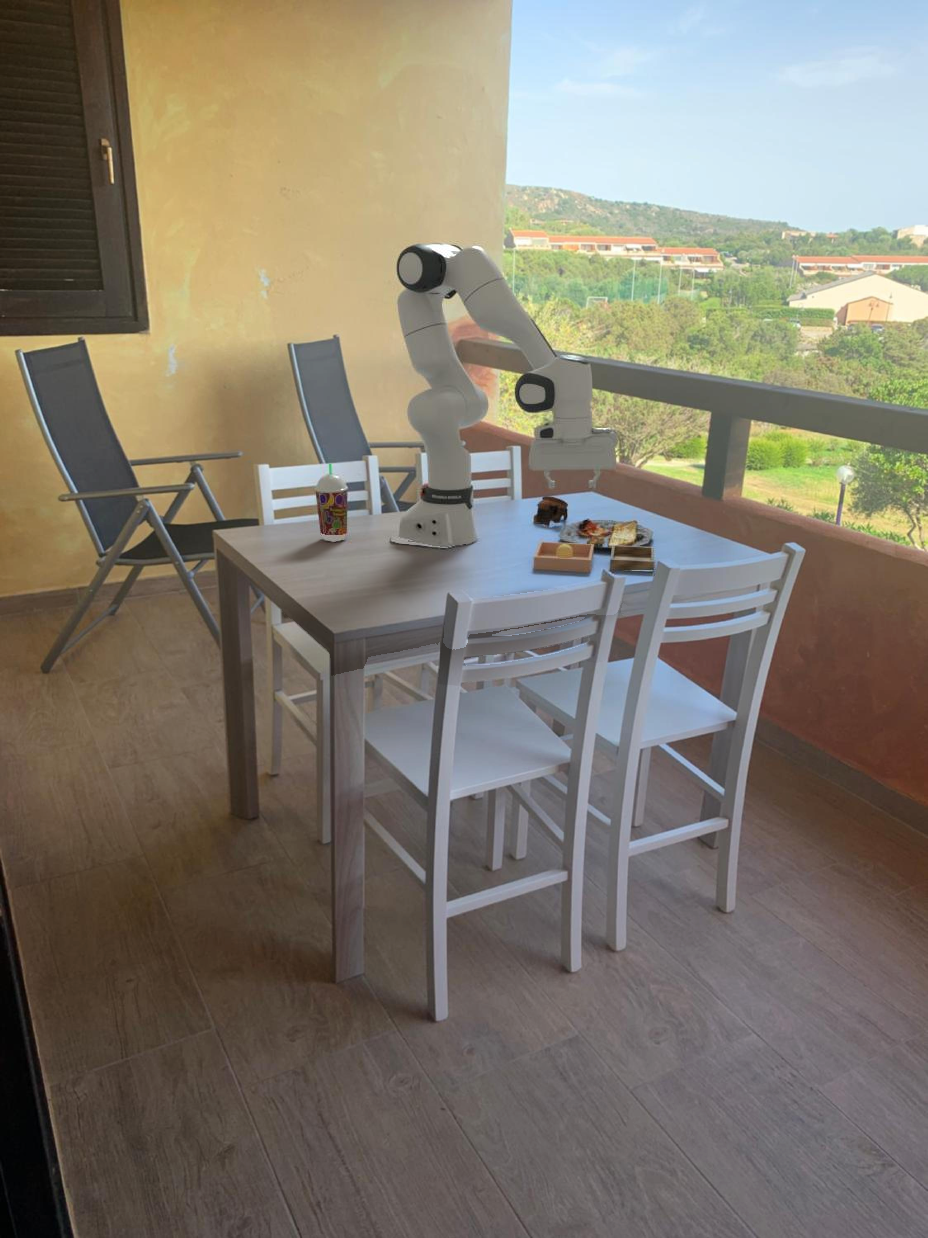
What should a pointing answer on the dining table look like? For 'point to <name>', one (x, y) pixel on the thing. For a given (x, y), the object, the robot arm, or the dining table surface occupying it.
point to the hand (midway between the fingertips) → (571, 488)
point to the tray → (632, 558)
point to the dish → (577, 563)
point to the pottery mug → (551, 510)
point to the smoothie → (332, 504)
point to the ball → (564, 551)
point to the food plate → (606, 533)
